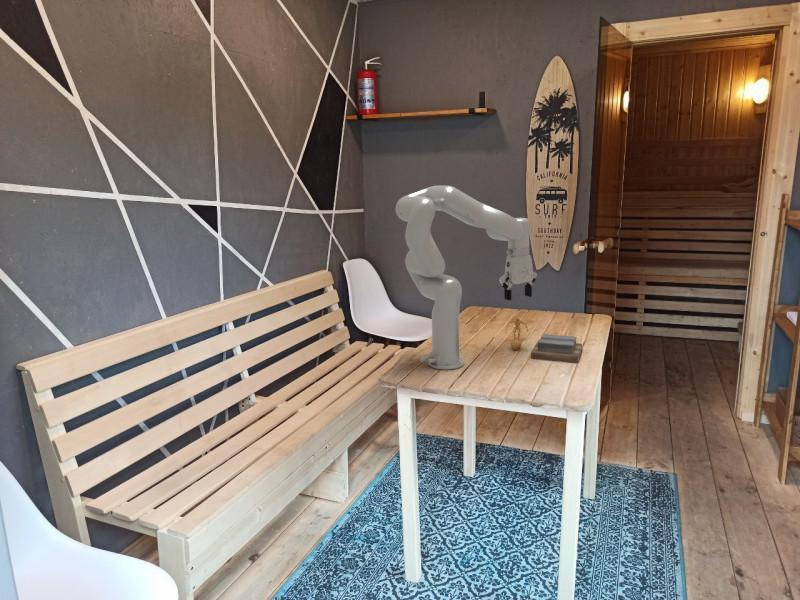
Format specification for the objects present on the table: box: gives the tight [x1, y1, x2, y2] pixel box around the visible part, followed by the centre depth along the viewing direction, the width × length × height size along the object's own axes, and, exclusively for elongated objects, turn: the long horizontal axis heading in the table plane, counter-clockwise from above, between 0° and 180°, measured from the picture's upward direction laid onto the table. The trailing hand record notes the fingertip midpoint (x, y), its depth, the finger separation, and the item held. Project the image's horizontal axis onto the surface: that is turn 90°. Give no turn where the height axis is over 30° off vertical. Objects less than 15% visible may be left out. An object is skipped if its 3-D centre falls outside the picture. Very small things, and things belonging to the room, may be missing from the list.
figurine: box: [505, 317, 529, 351], centre depth 212 cm, size 8×6×12 cm
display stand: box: [530, 333, 583, 364], centre depth 205 cm, size 16×16×6 cm
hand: (518, 297), depth 209 cm, fingers open, 9 cm apart
